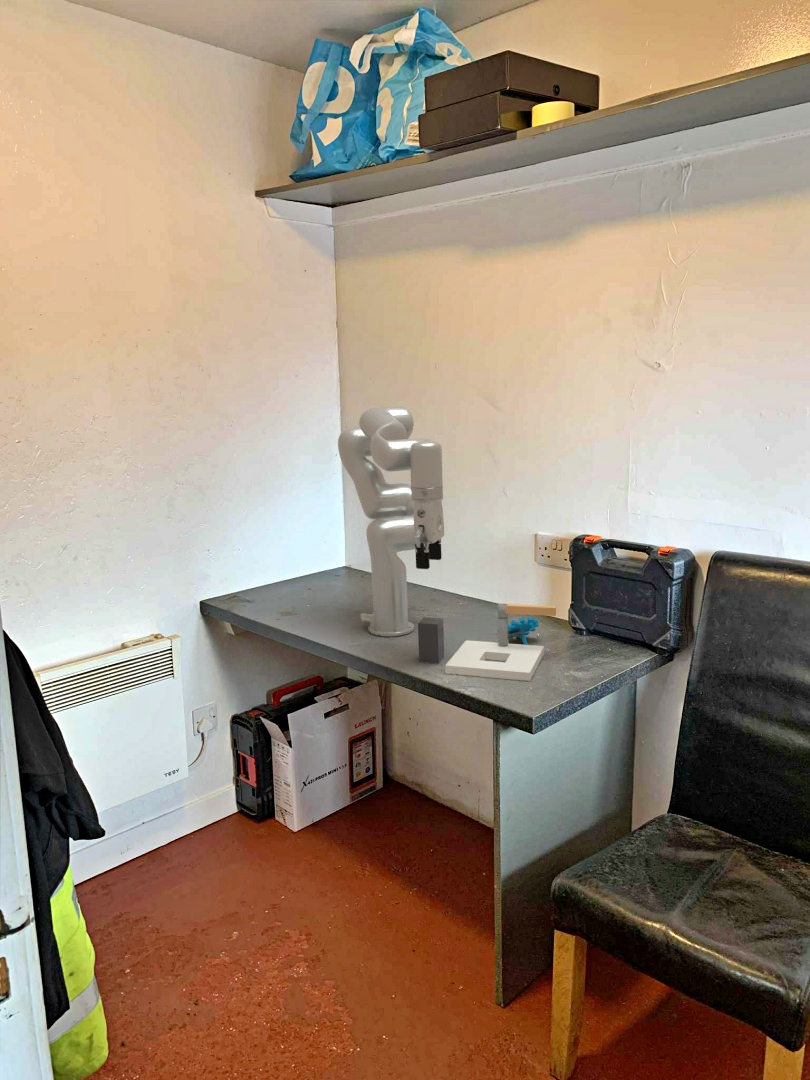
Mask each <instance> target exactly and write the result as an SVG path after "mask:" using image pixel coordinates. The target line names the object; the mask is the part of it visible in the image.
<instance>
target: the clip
mask: <svg viewBox="0 0 810 1080" xmlns="http://www.w3.org/2000/svg"><path fill="white" fill-rule="evenodd" d="M508 614H509V615H510V614H511V615H527V616H528V615H529V616H549V617H556V615H557V607H556V605H539V604H537V605H535V604H515V603H512V604H511V603H503V602H501V603H498V604H497V618H498V617H500V618H506V617H509V615H508Z"/></svg>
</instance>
